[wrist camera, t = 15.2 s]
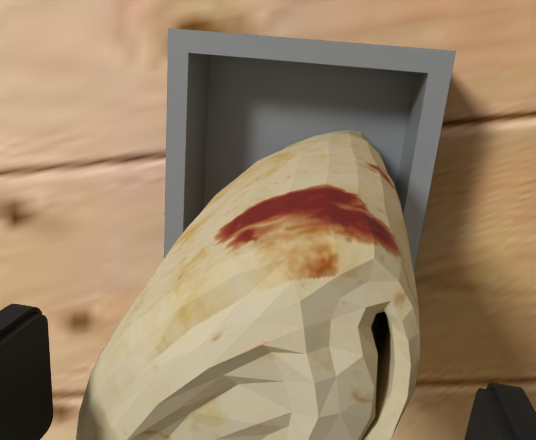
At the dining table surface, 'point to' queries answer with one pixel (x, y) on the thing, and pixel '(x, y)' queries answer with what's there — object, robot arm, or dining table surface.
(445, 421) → the dining table surface
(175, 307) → the food model
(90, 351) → the dining table surface
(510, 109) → the dining table surface
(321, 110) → the bin
